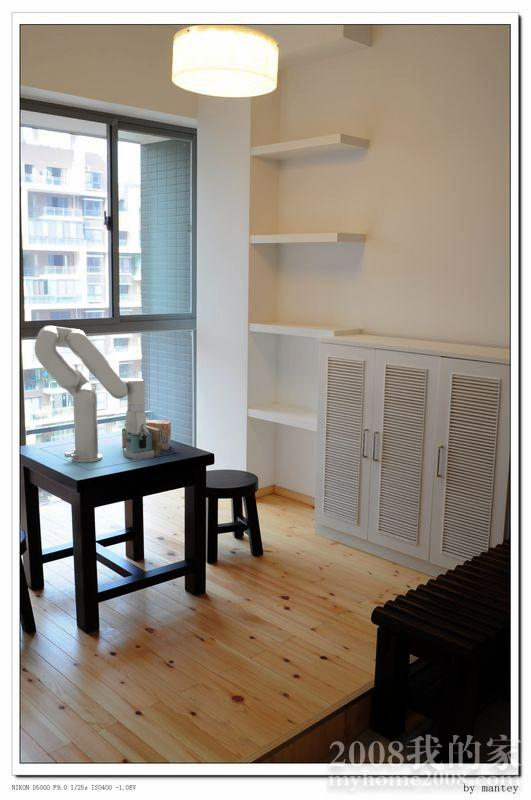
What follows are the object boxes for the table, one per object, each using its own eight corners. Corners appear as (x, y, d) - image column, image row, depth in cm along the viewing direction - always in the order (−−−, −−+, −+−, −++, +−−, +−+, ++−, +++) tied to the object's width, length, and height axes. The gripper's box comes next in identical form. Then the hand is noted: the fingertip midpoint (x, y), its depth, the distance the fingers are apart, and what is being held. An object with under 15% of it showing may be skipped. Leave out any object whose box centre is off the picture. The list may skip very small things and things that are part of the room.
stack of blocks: (122, 448, 340) (121, 421, 338) (125, 444, 346) (124, 418, 344) (168, 449, 339) (168, 423, 337) (171, 446, 345) (170, 420, 343)
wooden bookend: (137, 460, 320) (136, 433, 317) (122, 455, 328) (121, 428, 326) (160, 456, 327) (160, 429, 325) (145, 450, 336) (144, 424, 334)
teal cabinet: (130, 452, 321) (130, 437, 320) (124, 450, 324) (124, 434, 323) (151, 448, 328) (151, 433, 327) (145, 446, 332) (145, 431, 330)
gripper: (118, 405, 326) (118, 443, 329) (139, 411, 313) (140, 451, 317) (132, 403, 331) (133, 440, 334) (154, 409, 318) (154, 448, 322)
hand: (136, 445), depth 326 cm, fingers open, 9 cm apart
